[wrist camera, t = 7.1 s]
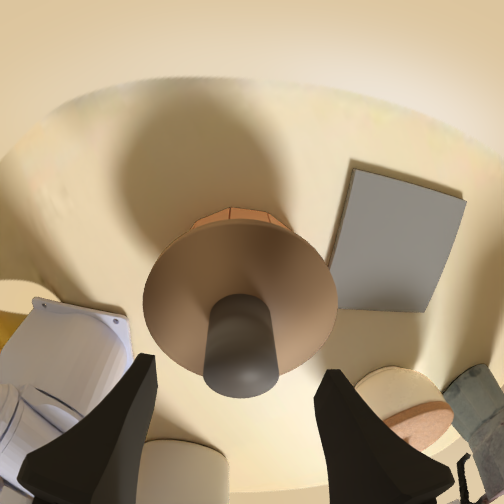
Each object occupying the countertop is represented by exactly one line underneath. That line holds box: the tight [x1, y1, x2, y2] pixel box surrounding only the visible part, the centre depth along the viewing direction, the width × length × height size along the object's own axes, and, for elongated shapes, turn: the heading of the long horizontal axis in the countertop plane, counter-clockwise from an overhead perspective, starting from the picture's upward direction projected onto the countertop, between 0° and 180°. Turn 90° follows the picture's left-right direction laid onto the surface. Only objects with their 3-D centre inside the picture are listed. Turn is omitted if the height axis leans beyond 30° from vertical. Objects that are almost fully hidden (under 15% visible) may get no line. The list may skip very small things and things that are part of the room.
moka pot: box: [443, 364, 504, 504], centre depth 21 cm, size 10×15×20 cm, turn 162°
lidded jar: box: [354, 366, 454, 452], centre depth 23 cm, size 11×11×9 cm
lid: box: [143, 219, 338, 398], centre depth 14 cm, size 10×10×5 cm
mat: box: [328, 168, 467, 312], centre depth 20 cm, size 10×10×1 cm
